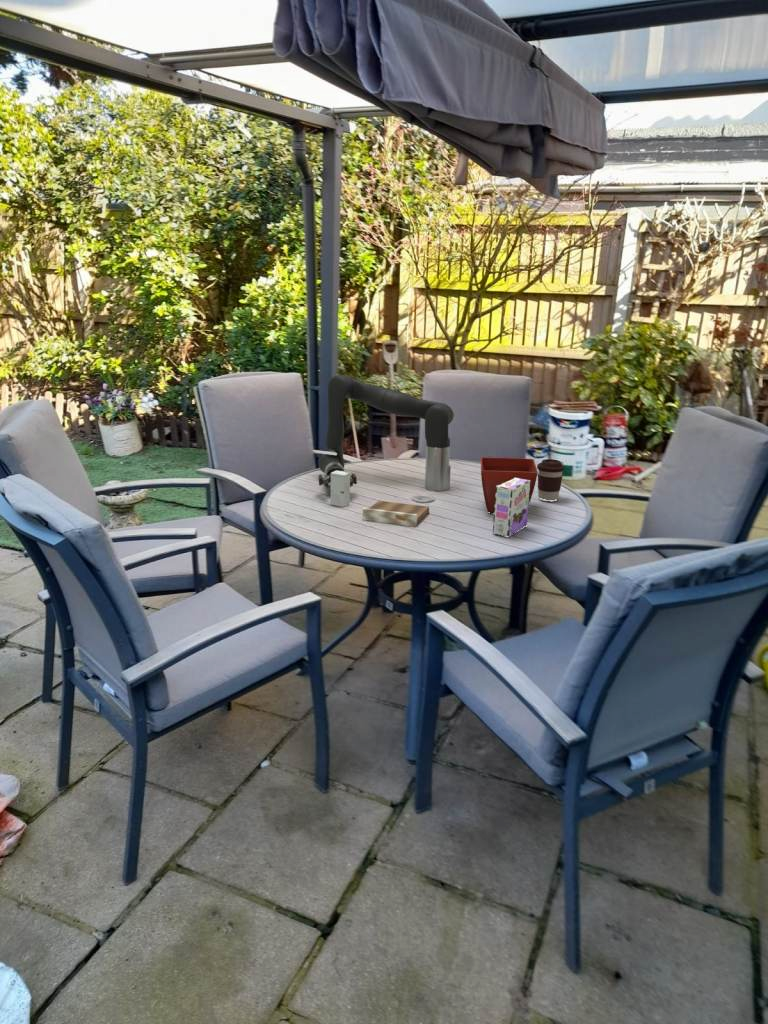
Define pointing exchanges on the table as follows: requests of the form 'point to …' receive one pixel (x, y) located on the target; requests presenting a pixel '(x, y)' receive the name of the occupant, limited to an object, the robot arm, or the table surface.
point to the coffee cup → (549, 478)
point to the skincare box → (340, 488)
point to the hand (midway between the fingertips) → (339, 484)
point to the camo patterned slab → (396, 513)
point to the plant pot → (505, 475)
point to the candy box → (511, 506)
